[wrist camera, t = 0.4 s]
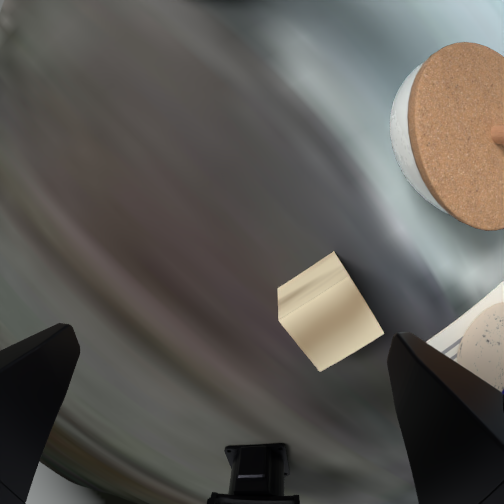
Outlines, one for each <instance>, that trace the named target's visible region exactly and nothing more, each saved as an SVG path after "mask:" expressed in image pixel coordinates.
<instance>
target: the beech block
mask: <svg viewBox="0 0 504 504" xmlns="http://www.w3.org/2000/svg"><path fill="white" fill-rule="evenodd" d="M278 319H279V322H280V323H281V324H282V325H283V327H284V328H285V329H286V330H287V332H288V333H289V334H290V335H291V337H292V338H293V339H294V340H295V342H296V343H297V344H298V345H299V347H300V348H301V349H302V350H303V352H304V353H305V354H306V355H307V357H308V358H309V359H310V360H311V361H312V363H313V364H314V365H315V366H316V368H317V369H318V370H319V371H320V372H321V371H322V370H324V369H326V368H328V367H330V366H331V365H333V364H335V363H337V362H338V361H340V360H342V359H344V358H345V357H347V356H349V355H350V354H352V353H354V352H356V351H357V350H359V349H360V348H362V347H364V346H365V345H367V344H369V343H370V342H372V341H373V340H375V339H377V338H378V337H380V336H381V335H383V334H384V332H383V330H382V328H381V327H380V325H379V323H378V322H377V320H376V318H375V316H374V315H373V313H372V311H371V310H370V308H369V306H368V304H367V303H366V301H365V299H364V298H363V296H362V295H361V293H360V291H359V290H358V288H357V287H356V285H355V283H354V282H353V280H352V279H351V277H350V275H349V274H348V272H347V271H346V269H345V268H344V266H343V265H342V263H341V261H340V260H339V258H338V257H337V255H336V254H335V252H332V253H331V254H329V255H328V256H326V257H325V258H323V259H322V260H320V261H319V262H317V263H316V264H314V265H313V266H311V267H310V268H308V269H307V270H305V271H304V272H302V273H301V274H299V275H298V276H296V277H294V278H293V279H291V280H290V281H288V282H287V283H285V284H284V285H282V286H281V287H279V288H278Z"/></svg>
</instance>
